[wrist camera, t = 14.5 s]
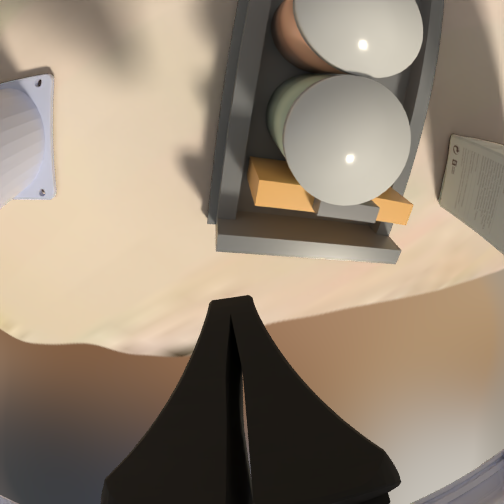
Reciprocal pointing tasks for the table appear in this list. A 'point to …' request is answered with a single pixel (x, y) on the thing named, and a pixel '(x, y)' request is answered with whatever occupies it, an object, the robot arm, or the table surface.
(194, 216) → the table surface
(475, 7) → the table surface
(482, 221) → the skincare box
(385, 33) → the jar
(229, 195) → the grey rectangular tray
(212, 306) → the robot arm
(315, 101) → the jar
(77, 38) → the table surface
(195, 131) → the table surface
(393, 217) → the pusher
